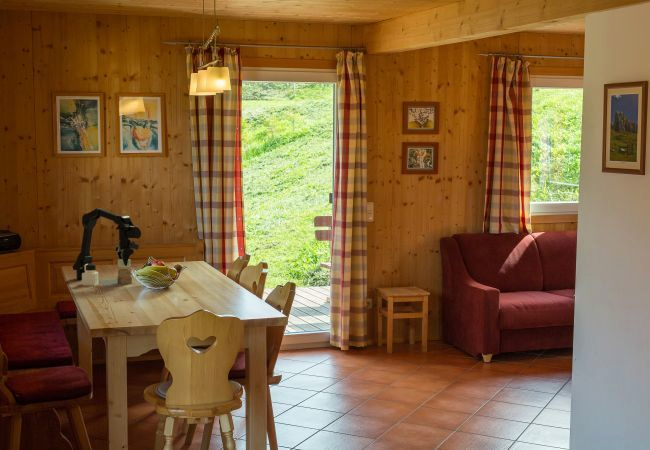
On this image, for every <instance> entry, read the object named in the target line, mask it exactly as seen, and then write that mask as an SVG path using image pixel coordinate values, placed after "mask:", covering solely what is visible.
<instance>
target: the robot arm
mask: <svg viewBox="0 0 650 450" xmlns="http://www.w3.org/2000/svg"><path fill="white" fill-rule="evenodd" d="M101 217H102V218H104V219H107V220H109V221H112V222H114V224H116V225H117V227H115V230H116V231H117V230H118V239H117V242H118V245H115V246H114V252H115V253H116V255H117V257H118V259H123V262H124V265H125V266H127V263H128V259H130V257H131V256H132V255H133V254H135V250H136V251H138V250H139V247H140V244H138V243H136V241H134V240H131V239H136V240H137V239H140V238H141V237H142V231H141V229H140V228H139V226H135V224H134V223H133V221H132V220H131V216H129V215H127V214H117V213H115V212H112V211H110V210H107V209H104V208H102V207H97V208H95V209H94V210H91V211H89V212H87V213H84V214H83V215H82V216H81V224H82V227H83V232H82V233H83V234H82V239H81V248H80V252H79V254H78V255H77V257H76V260H75V261H76V262H74V264H73V265H72V269H73V270H74V271H75V275H76V277H75V278H74V280H76V281H82V273H85V265H86V264H93V255H91V253H90V252H91V251H90V250H91V245H92V244H91V242H92V237H93V231H94V230H93V229H94V228H95V227H96V224H97V222H98V220H99V219H100V218H101Z"/></svg>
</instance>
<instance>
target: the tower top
mask: <svg viewBox="0 0 650 450" xmlns="http://www.w3.org/2000/svg"><path fill="white" fill-rule="evenodd" d="M117 271H118V272H117V274H118V275H117V276H119V277H132V271H131V269H130V268H118V269H117Z"/></svg>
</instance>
